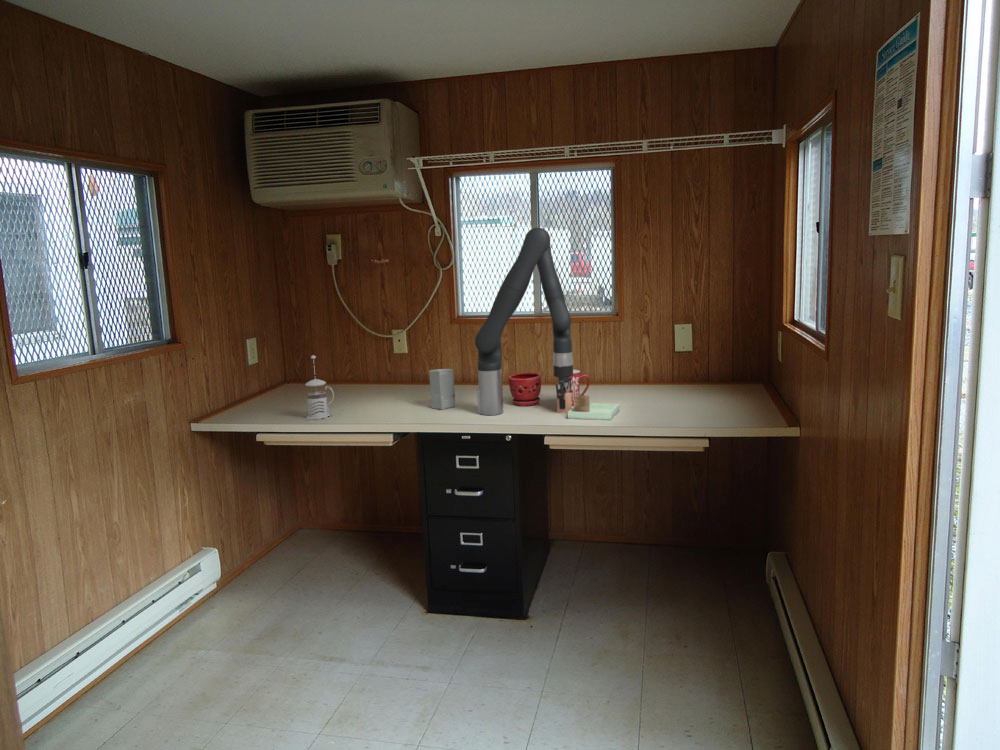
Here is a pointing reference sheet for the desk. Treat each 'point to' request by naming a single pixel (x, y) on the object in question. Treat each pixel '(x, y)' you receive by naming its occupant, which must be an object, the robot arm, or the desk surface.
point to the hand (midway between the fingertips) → (564, 407)
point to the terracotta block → (567, 403)
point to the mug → (577, 384)
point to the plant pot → (525, 388)
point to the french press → (314, 399)
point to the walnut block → (581, 403)
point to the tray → (595, 412)
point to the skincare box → (442, 388)
